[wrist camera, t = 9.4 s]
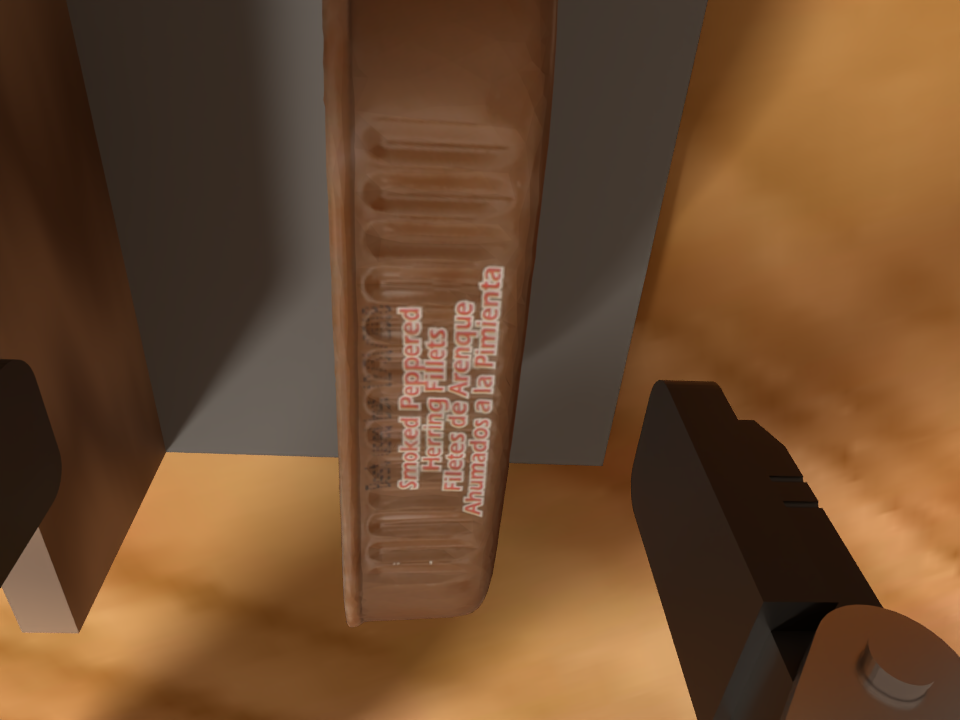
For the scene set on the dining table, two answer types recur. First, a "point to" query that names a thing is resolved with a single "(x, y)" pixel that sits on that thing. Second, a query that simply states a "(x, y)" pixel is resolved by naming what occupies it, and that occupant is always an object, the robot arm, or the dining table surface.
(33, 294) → the walls
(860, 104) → the dining table surface
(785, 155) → the dining table surface
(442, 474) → the tin
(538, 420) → the mat
